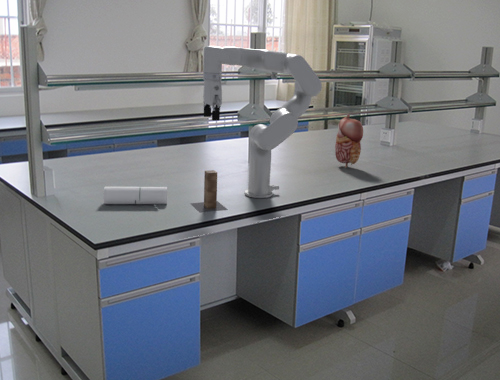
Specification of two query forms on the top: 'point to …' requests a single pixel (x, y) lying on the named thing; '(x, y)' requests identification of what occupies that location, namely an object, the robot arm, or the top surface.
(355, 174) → the top surface
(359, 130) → the anatomical model
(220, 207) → the mat
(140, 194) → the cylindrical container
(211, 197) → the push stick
